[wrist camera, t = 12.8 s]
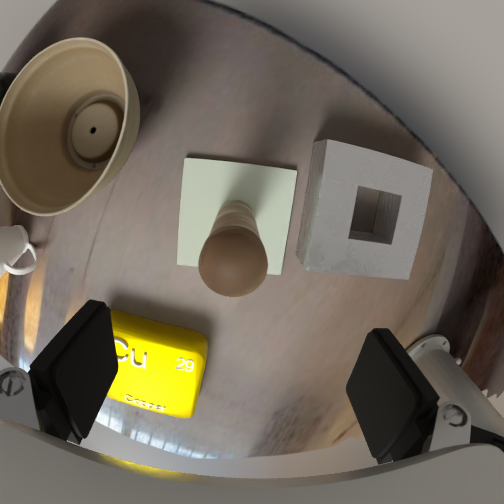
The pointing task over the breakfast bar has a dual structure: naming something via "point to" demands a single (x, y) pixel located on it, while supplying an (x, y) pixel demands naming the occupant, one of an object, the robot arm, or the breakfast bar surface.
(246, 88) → the breakfast bar surface
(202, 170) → the pad
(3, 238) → the cup
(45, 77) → the planter bowl
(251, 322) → the breakfast bar surface
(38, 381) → the robot arm
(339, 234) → the block
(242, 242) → the peg
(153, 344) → the element tile
